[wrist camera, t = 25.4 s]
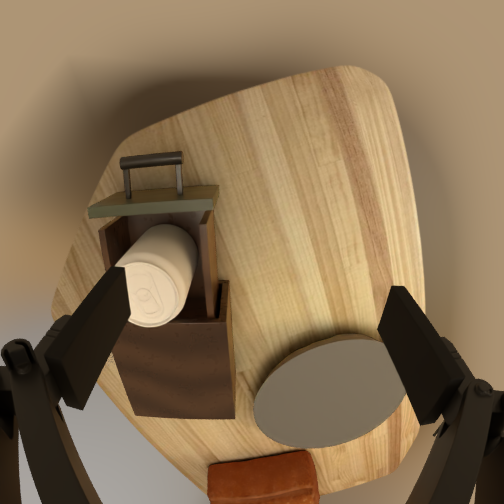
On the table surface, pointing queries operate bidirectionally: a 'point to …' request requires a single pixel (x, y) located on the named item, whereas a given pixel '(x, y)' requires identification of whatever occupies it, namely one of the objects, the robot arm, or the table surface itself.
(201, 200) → the drawer
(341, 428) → the flat disc
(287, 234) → the table surface
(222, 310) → the cabinet
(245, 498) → the bread
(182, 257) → the beverage can
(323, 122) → the table surface
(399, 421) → the table surface
